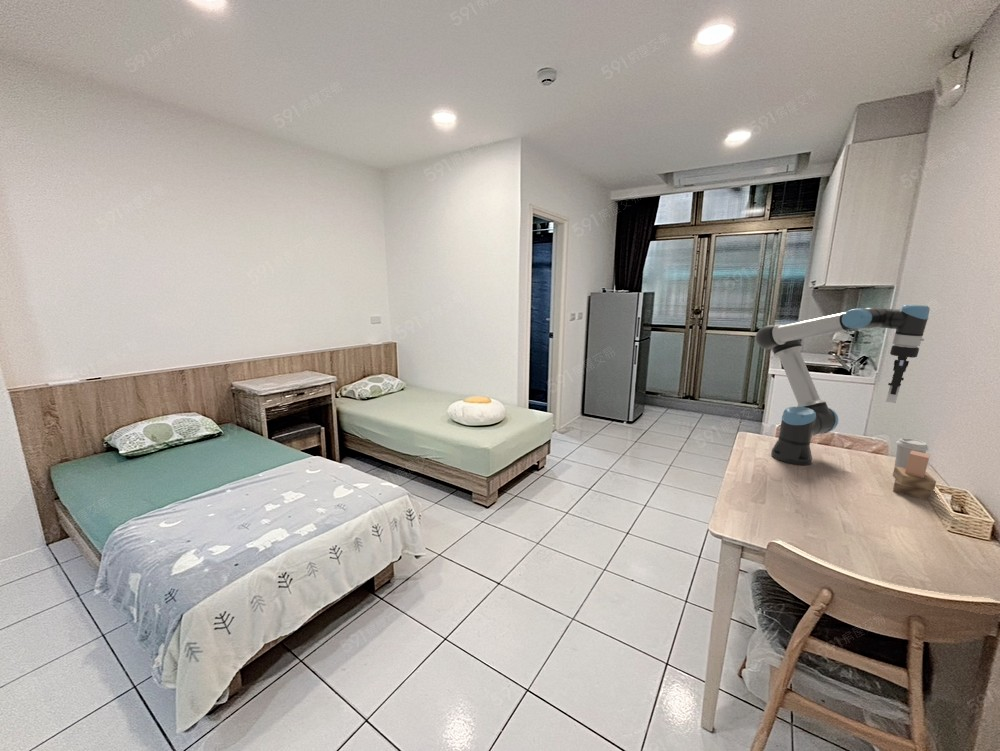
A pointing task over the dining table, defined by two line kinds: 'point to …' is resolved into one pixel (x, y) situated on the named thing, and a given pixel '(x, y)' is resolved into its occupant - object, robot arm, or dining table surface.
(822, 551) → the dining table surface
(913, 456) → the terracotta block
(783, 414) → the robot arm
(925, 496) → the slab bottom
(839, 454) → the dining table surface
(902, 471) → the slab top
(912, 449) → the coffee cup
